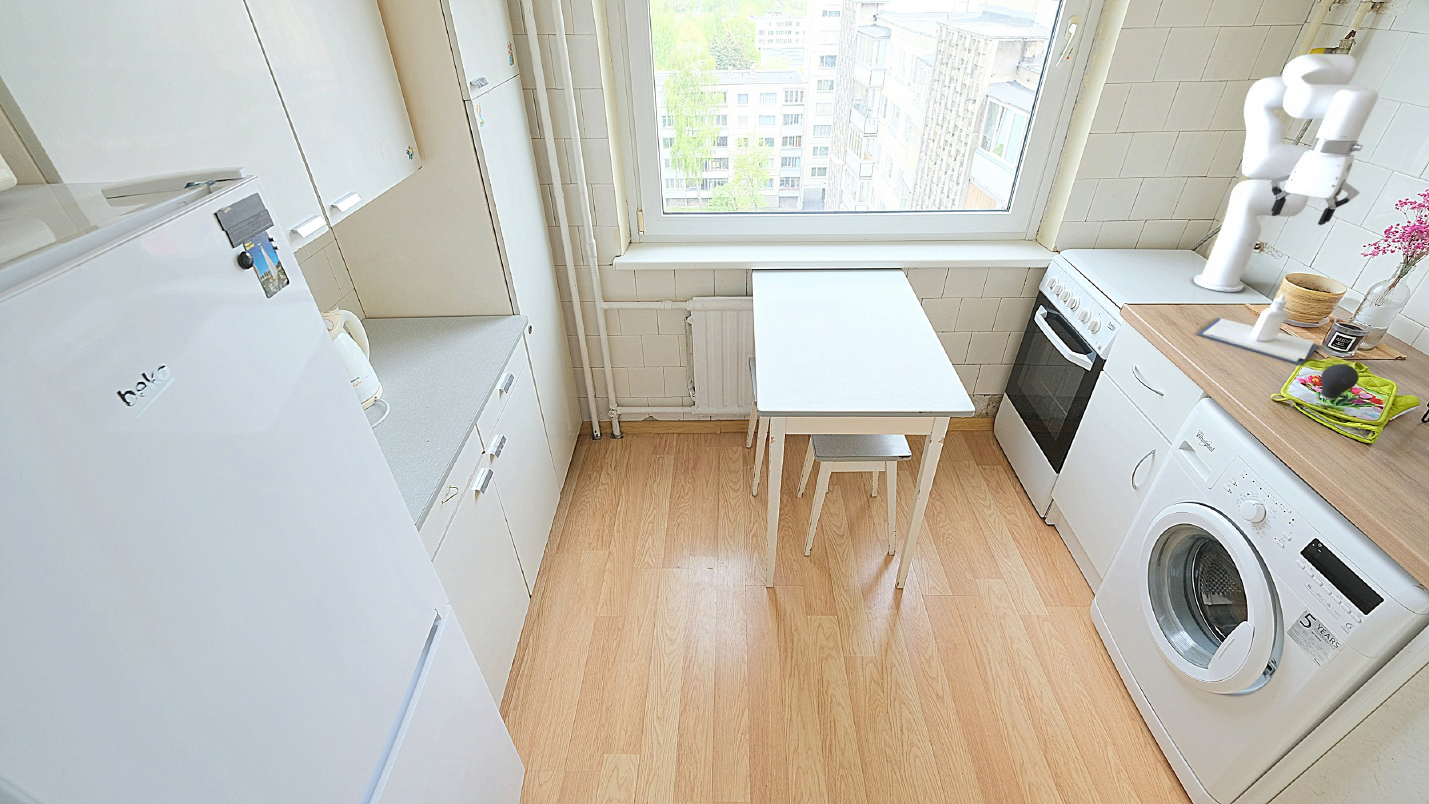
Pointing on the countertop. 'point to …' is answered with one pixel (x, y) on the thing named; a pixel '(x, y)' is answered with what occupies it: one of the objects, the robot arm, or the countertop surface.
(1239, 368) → the countertop surface
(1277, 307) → the eye dropper bottle
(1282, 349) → the grey flat slab
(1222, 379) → the countertop surface
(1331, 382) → the light bulb
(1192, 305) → the countertop surface
